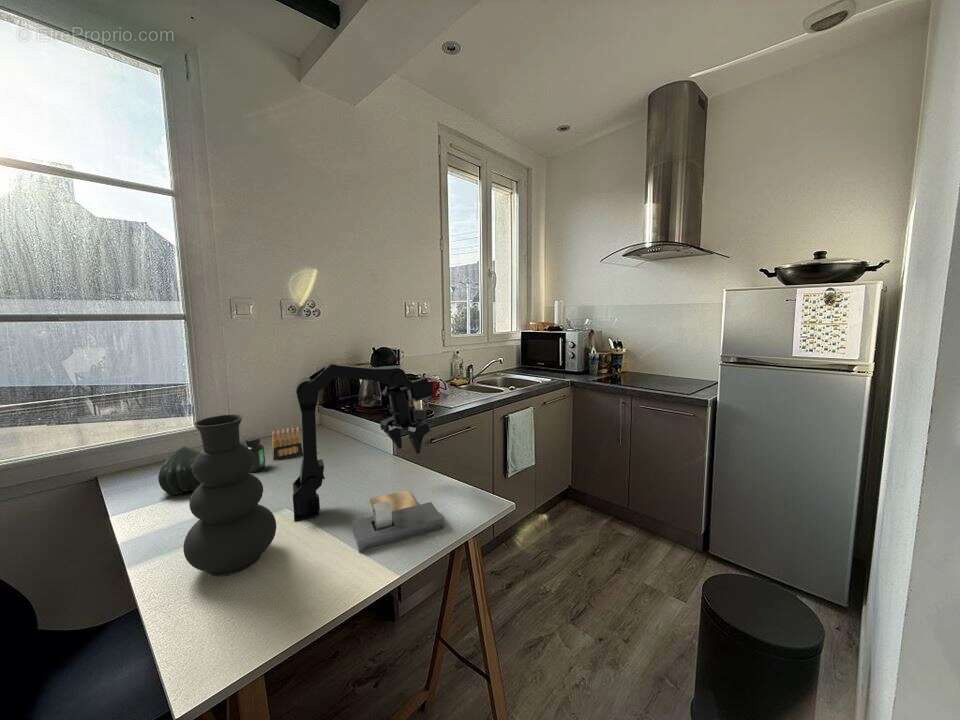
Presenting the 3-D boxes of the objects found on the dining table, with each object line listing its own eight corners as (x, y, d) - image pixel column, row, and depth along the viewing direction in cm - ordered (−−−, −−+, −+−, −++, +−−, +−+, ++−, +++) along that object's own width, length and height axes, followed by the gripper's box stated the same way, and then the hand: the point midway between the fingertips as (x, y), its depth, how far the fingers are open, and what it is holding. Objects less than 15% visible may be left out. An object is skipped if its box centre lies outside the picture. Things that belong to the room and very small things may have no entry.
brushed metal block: (377, 540, 100) (375, 511, 99) (374, 532, 103) (372, 504, 102) (392, 536, 101) (391, 507, 100) (389, 528, 105) (387, 500, 104)
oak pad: (378, 521, 109) (377, 517, 108) (370, 502, 119) (370, 498, 119) (419, 510, 114) (419, 506, 114) (408, 493, 125) (408, 489, 124)
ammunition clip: (273, 460, 154) (271, 431, 152) (273, 459, 155) (270, 430, 154) (302, 454, 160) (300, 426, 158) (302, 453, 161) (299, 425, 160)
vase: (291, 559, 93) (278, 417, 88) (199, 603, 79) (177, 439, 74) (262, 530, 105) (249, 405, 100) (178, 565, 92) (159, 421, 87)
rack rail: (359, 552, 95) (358, 541, 95) (353, 531, 104) (352, 521, 103) (443, 528, 104) (443, 518, 104) (431, 511, 113) (430, 501, 113)
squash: (187, 487, 120) (204, 441, 128) (139, 490, 120) (159, 443, 128) (215, 498, 132) (228, 456, 140) (171, 501, 132) (187, 458, 140)
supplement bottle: (268, 469, 146) (265, 438, 144) (247, 474, 141) (244, 443, 139) (262, 464, 151) (259, 434, 149) (242, 469, 146) (239, 438, 144)
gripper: (439, 400, 122) (446, 445, 125) (402, 395, 134) (410, 436, 138) (411, 412, 114) (420, 460, 117) (375, 405, 126) (384, 449, 129)
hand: (409, 450), depth 126 cm, fingers open, 9 cm apart
